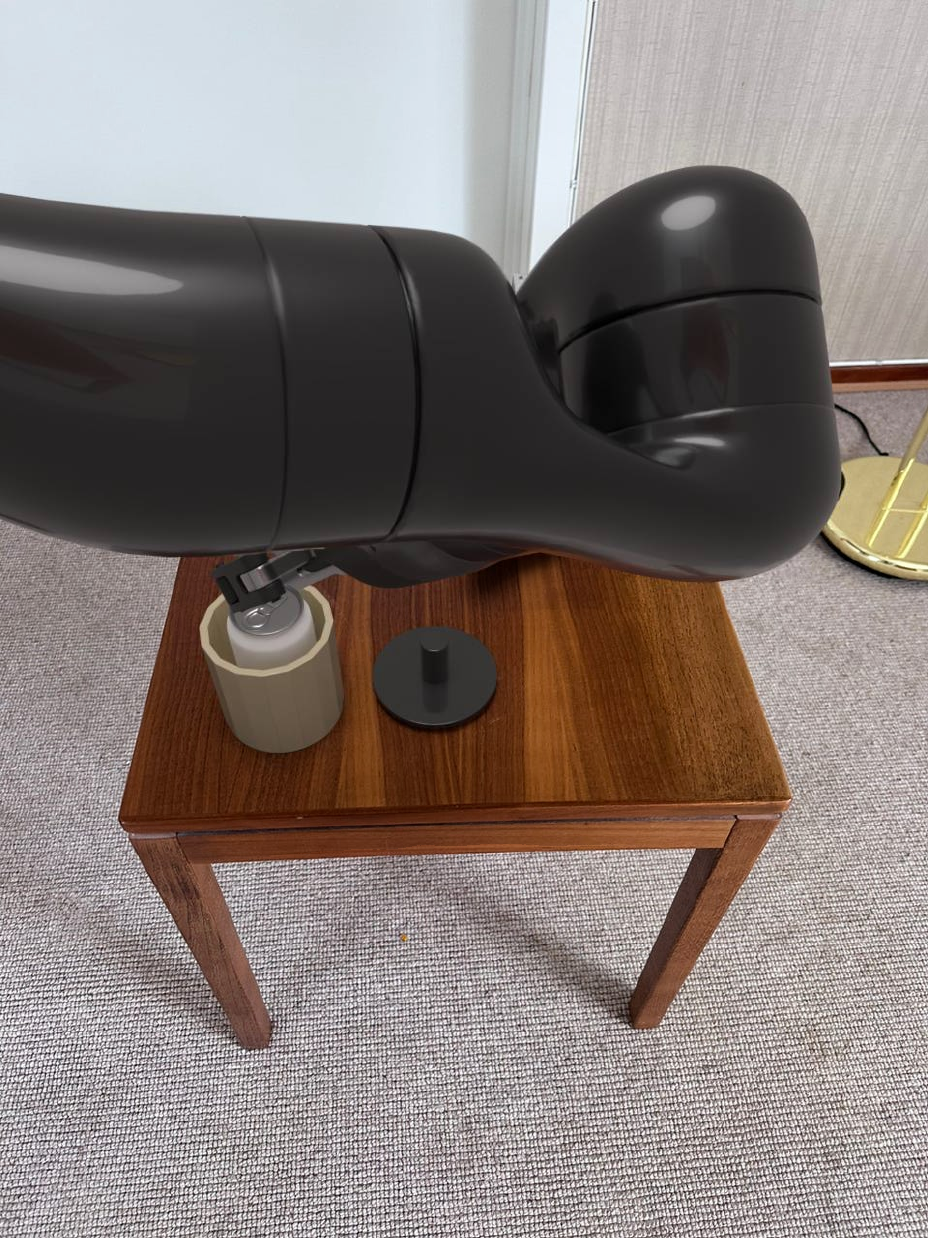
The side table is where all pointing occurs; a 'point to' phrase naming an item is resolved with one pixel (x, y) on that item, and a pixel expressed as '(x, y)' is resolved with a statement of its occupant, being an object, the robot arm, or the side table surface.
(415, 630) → the lid
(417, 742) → the side table surface
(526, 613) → the side table surface
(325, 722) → the jar
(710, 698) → the side table surface
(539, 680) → the side table surface
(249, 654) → the can
